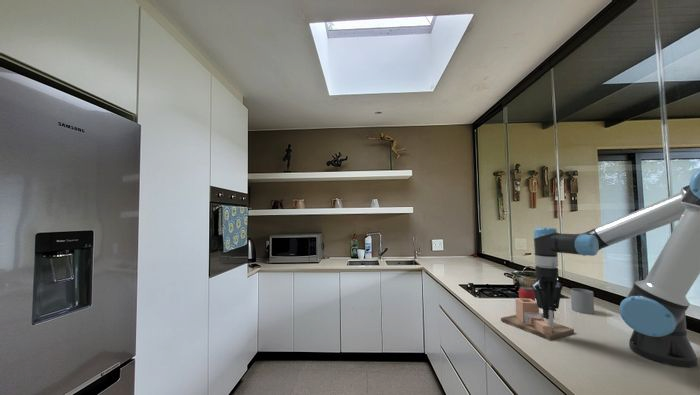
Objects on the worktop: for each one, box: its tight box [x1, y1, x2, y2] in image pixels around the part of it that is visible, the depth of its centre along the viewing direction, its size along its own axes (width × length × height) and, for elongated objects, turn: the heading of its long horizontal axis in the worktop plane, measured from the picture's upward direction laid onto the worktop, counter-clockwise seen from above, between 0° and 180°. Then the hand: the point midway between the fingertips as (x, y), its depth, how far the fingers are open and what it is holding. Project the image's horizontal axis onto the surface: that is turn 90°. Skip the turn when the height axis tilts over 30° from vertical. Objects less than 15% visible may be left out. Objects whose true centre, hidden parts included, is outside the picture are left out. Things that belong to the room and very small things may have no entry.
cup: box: [570, 287, 595, 315], centre depth 135 cm, size 8×8×10 cm
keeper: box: [524, 311, 543, 326], centre depth 112 cm, size 3×5×7 cm, turn 68°
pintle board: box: [500, 314, 575, 341], centre depth 115 cm, size 20×16×8 cm
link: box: [515, 297, 552, 334], centre depth 114 cm, size 18×6×8 cm, turn 173°
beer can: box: [518, 285, 536, 302], centre depth 132 cm, size 7×7×12 cm
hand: (549, 326), depth 108 cm, fingers closed
